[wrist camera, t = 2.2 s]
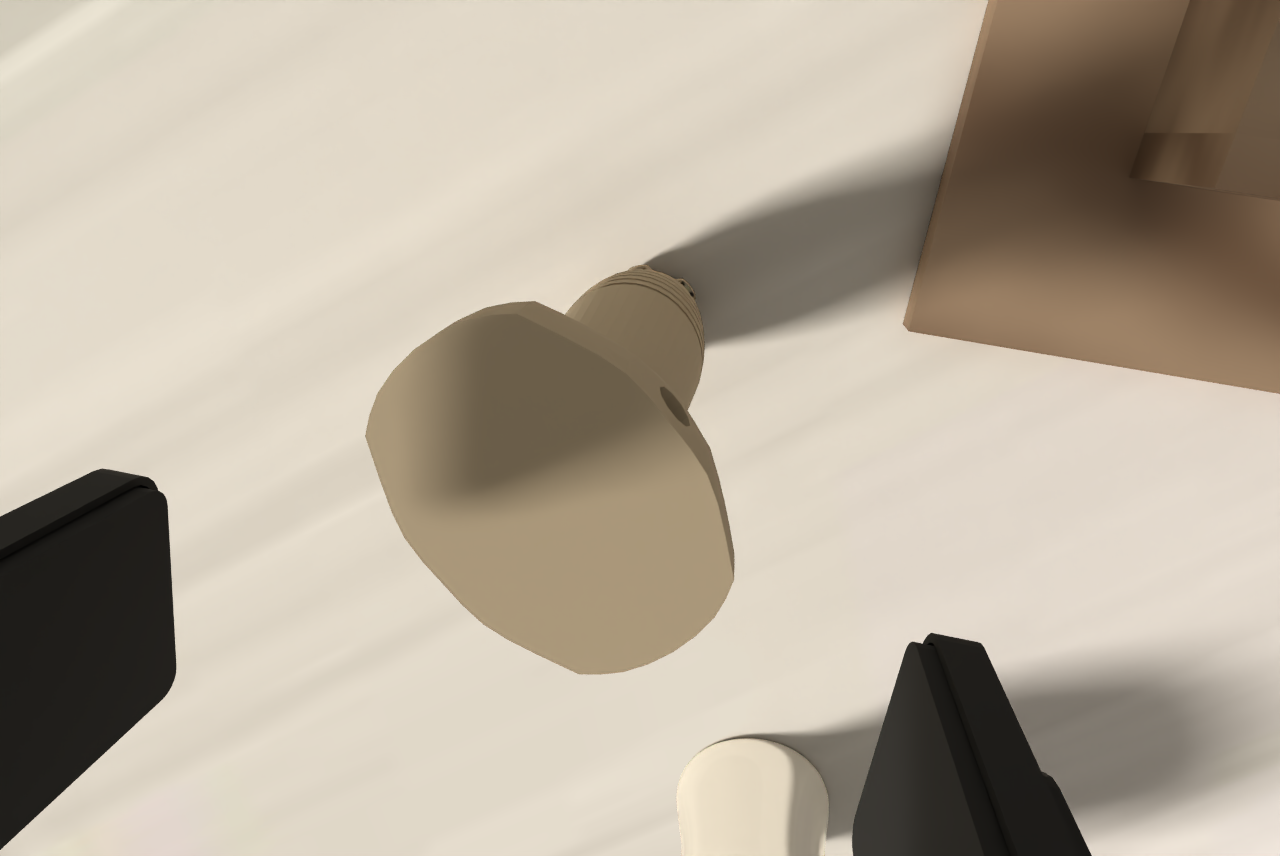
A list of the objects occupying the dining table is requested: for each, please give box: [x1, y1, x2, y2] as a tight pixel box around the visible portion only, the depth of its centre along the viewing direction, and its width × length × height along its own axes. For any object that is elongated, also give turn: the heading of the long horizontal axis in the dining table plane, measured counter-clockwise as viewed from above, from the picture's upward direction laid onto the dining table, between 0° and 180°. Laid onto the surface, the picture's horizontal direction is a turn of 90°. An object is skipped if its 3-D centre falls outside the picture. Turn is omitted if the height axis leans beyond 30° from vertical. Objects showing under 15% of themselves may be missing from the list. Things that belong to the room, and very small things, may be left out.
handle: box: [365, 265, 734, 674], centre depth 20 cm, size 5×6×15 cm
